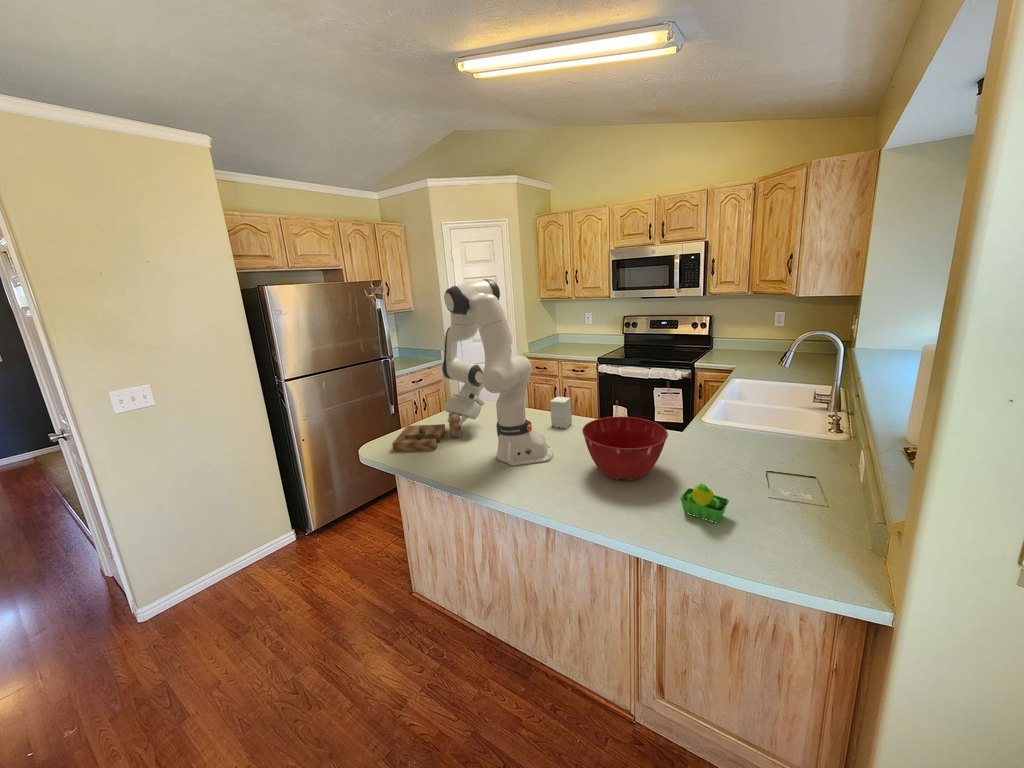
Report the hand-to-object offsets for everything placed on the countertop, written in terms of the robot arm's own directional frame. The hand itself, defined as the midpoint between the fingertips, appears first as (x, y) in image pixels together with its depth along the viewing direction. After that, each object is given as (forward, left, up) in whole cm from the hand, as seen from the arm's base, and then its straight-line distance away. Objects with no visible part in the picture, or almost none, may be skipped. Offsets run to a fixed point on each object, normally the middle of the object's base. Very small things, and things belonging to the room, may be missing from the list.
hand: (453, 423), depth 189 cm
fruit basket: (-85, +65, -7) cm, 108 cm away
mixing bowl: (-68, +37, -6) cm, 78 cm away
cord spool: (0, -1, -6) cm, 6 cm away
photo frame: (-117, +51, -7) cm, 128 cm away
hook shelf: (+15, +4, -6) cm, 17 cm away
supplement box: (-48, -9, -6) cm, 49 cm away
